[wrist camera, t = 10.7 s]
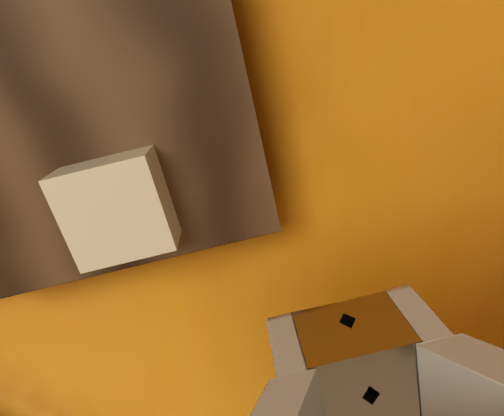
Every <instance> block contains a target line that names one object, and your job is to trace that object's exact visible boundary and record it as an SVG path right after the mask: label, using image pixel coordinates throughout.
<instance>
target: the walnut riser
mask: <svg viewBox="0 0 504 416" xmlns="http://www.w3.org/2000/svg"><path fill="white" fill-rule="evenodd" d="M150 145H154V148H155V151H156V154H157V157H158V160H159V163H160V166H161V169H162V172H163V175H164V178H165V181H166V184H167V187H168V190H169V193H170V196H171V199H172V202H173V206H174V209H175V212H176V215H177V218H178V221H179V224H180V227H181V230H182V231H181V235H180V239H179V244H178V248H177V251H173V252H169V253H165V254H160V255H156V256H152V257H148V258H144V259H140V260H136V261H132V262H127V263H123V264H119V265H115V266H111V267H107V268H103V269H98V270H94V271H90V272H86V273H82V274H80V272H79V270H78V267H77V265H76V263H75V261H74V259H73V257H72V254H71V252H70V250H69V248H68V246H67V243H66V241H65V239H64V237H63V235H62V233H61V230H60V228H59V226H58V224H57V222H56V220H55V217H54V215H53V213H52V211H51V209H50V206H49V204H48V202H47V200H46V198H45V196H44V193H43V191H42V189H41V187H40V185H39V183H38V181H39V180H41V179H42V178H44V177H46V176H47V175H49V174H50V173H52V172H53V171H55V170H56V169H58V168H60V167H64V166H68V165H72V164H76V163H80V162H84V161H88V160H92V159H96V158H100V157H105V156H109V155H113V154H117V153H121V152H125V151H129V150H133V149H137V148H141V147H146V146H150ZM278 231H281V226H280V221H279V217H278V212H277V208H276V203H275V199H274V194H273V190H272V185H271V180H270V176H269V171H268V167H267V162H266V158H265V153H264V148H263V144H262V139H261V135H260V130H259V126H258V121H257V116H256V112H255V107H254V103H253V98H252V94H251V89H250V85H249V80H248V75H247V71H246V66H245V62H244V57H243V53H242V48H241V43H240V39H239V34H238V30H237V25H236V21H235V16H234V11H233V7H232V2H231V0H0V299H1V298H6V297H10V296H14V295H18V294H22V293H26V292H30V291H35V290H39V289H43V288H47V287H51V286H55V285H59V284H63V283H68V282H72V281H76V280H80V279H84V278H88V277H92V276H97V275H101V274H105V273H109V272H113V271H117V270H121V269H125V268H130V267H134V266H138V265H142V264H146V263H150V262H154V261H159V260H163V259H167V258H171V257H175V256H179V255H183V254H187V253H192V252H196V251H200V250H204V249H208V248H212V247H216V246H221V245H225V244H229V243H233V242H237V241H241V240H245V239H249V238H254V237H258V236H262V235H266V234H270V233H274V232H278Z"/></svg>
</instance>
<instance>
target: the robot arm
mask: <svg viewBox="0 0 504 416" xmlns="http://www.w3.org/2000/svg"><path fill="white" fill-rule="evenodd" d="M267 327H268V333H269V338H270V343H271V349H272V354H273V360H274V365H275V370H276V376H277V378H273V379H270V380H269V381H268V383H267V385H266V387H265V389H264V390H263V392H262V394H261V396H260V398H259V400H258V402H257V403H256V405H255V407H254V409H253V411H252V413H251V414H250V416H504V349H502V348H499V347H497V346H494V345H492V344H489V343H487V342H484V341H481V340H479V339H476V338H474V337H471V336H469V335H466V334H463V333H460V334H455V335H454V334H453V333H452V332H451V331H450V329H449V328H448V327H447V326H446V325H445V324H444V323H443V322H442V321H441V319H440V318H439V317H438V316H437V315H436V314H435V313H434V312H433V310H432V309H431V308H430V307H429V306H428V305H427V304H426V303H425V302H424V300H423V299H422V298H421V297H420V296H419V295H418V294H417V293H416V291H415V290H414V289H413V288H412V287H411V286H409V285H407V284H406V285H402V286H398V287H395V288H391V289H387V290H384V291H383V292H379V293H375V294H371V295H367V296H363V297H359V298H355V299H351V300H347V301H343V302H339V303H333V304H328V305H323V306H319V307H314V308H310V309H305V310H301V311H296V312H291V314H290V313H288V314H283V315H279V316H275V317H271V318H267Z"/></svg>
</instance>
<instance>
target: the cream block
mask: <svg viewBox="0 0 504 416" xmlns="http://www.w3.org/2000/svg"><path fill="white" fill-rule="evenodd" d="M38 183H39V185H40V187H41V189H42V191H43V193H44V196H45V198H46V200H47V202H48V204H49V206H50V209H51V211H52V213H53V215H54V217H55V220H56V222H57V224H58V226H59V228H60V230H61V233H62V235H63V237H64V239H65V241H66V243H67V246H68V248H69V250H70V252H71V254H72V257H73V259H74V261H75V263H76V265H77V267H78V270H79V272H80V274H82V273H86V272H90V271H94V270H98V269H103V268H107V267H111V266H115V265H119V264H123V263H127V262H132V261H136V260H140V259H144V258H148V257H152V256H156V255H160V254H165V253H169V252H173V251H177V248H178V244H179V239H180V235H181V231H182V230H181V227H180V224H179V221H178V218H177V215H176V212H175V209H174V206H173V202H172V199H171V196H170V193H169V190H168V187H167V184H166V181H165V178H164V175H163V172H162V169H161V166H160V163H159V160H158V157H157V154H156V151H155V148H154V145H150V146H146V147H141V148H137V149H133V150H129V151H125V152H121V153H117V154H113V155H109V156H105V157H100V158H96V159H92V160H88V161H84V162H80V163H76V164H72V165H68V166H64V167H60V168H58V169H56V170H55V171H53V172H52V173H50V174H49V175H47V176H46V177H44V178H42V179H41V180H39V181H38Z"/></svg>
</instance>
